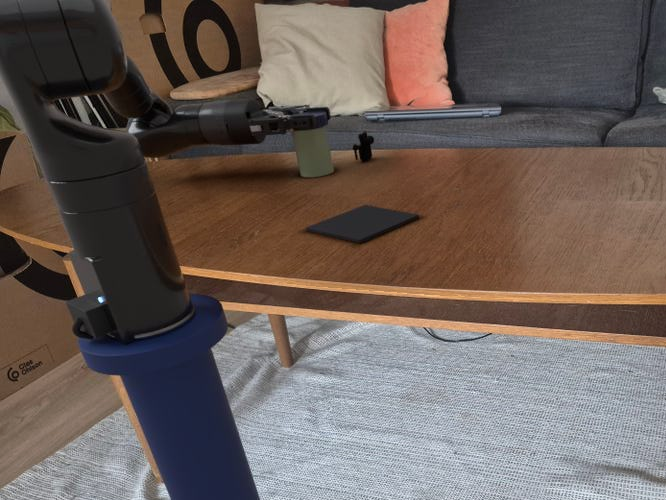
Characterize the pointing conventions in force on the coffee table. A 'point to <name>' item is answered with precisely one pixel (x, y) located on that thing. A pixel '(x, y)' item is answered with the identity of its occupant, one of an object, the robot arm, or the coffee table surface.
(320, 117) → the jar lid
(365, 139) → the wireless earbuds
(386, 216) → the coaster
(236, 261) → the coffee table surface
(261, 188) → the coffee table surface
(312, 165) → the jar
